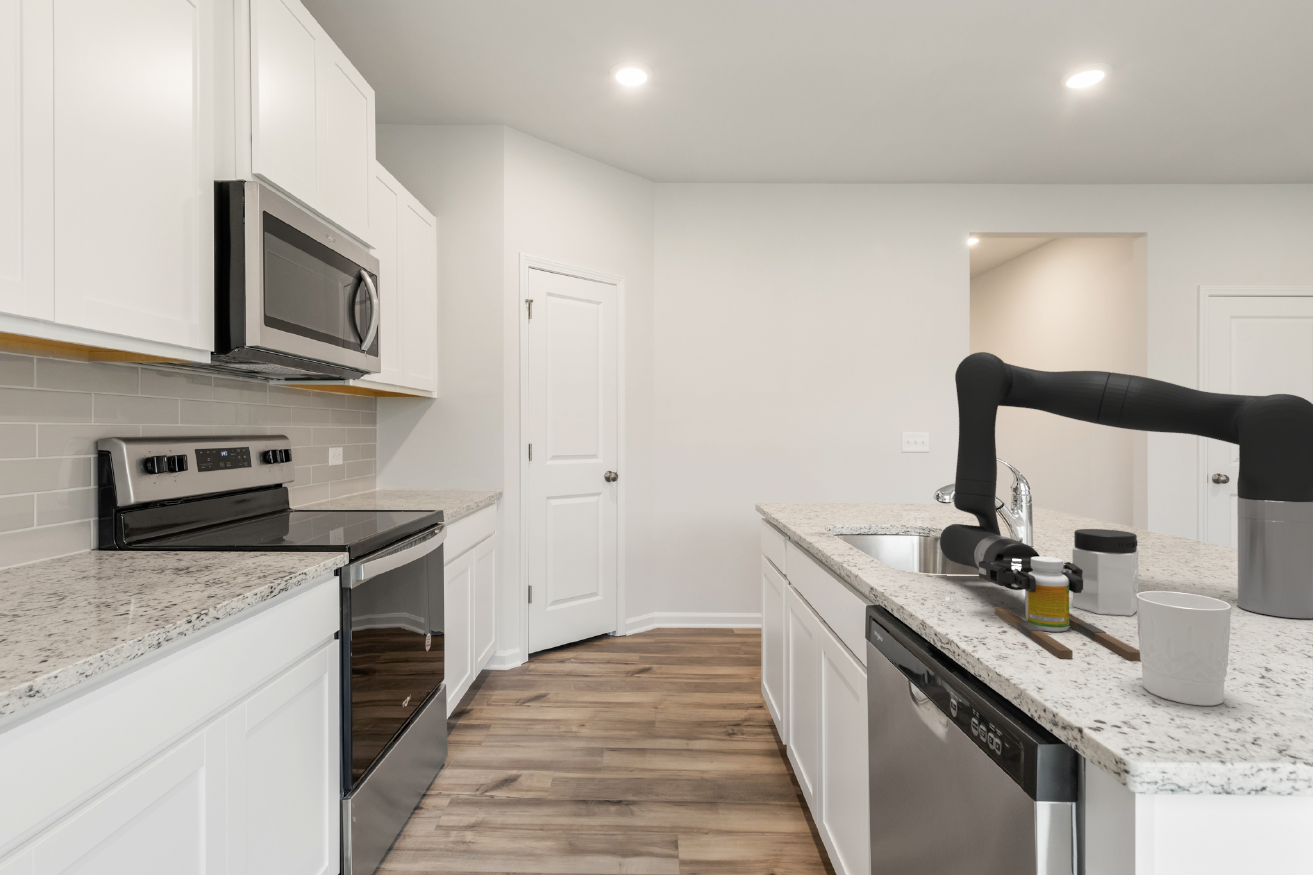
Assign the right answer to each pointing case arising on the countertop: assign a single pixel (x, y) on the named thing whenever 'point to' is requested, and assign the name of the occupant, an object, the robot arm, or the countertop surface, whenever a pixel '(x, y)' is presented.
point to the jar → (1106, 571)
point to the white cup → (1183, 646)
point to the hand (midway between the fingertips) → (1055, 585)
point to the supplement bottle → (1048, 596)
